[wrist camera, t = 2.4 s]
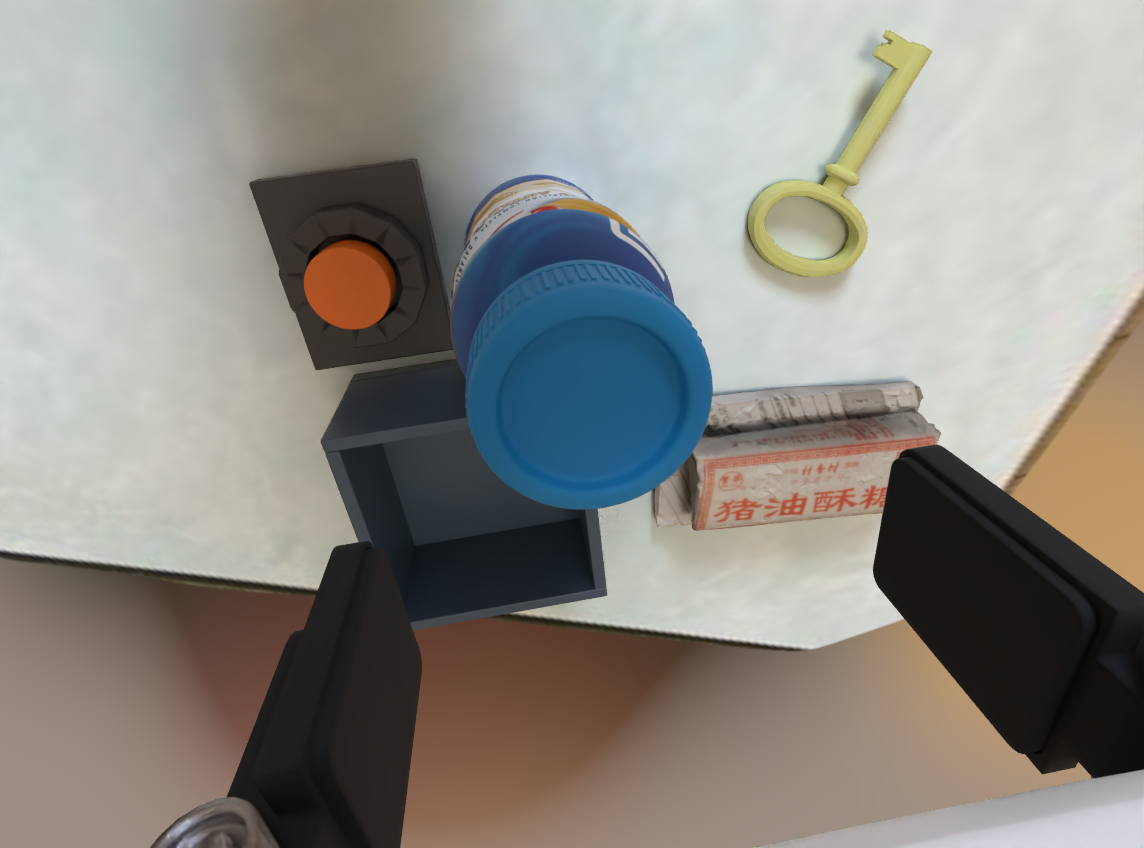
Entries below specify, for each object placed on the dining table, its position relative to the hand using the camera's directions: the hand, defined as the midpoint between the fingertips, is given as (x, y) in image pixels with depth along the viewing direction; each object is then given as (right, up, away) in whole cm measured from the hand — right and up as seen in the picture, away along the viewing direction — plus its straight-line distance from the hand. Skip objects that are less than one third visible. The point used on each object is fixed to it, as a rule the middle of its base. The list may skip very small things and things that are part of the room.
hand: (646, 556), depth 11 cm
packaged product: (+13, +1, +31) cm, 34 cm away
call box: (-13, +11, +21) cm, 27 cm away
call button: (-12, +10, +19) cm, 25 cm away
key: (+13, +17, +22) cm, 31 cm away
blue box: (-7, +1, +28) cm, 29 cm away
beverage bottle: (-3, +12, +22) cm, 26 cm away
